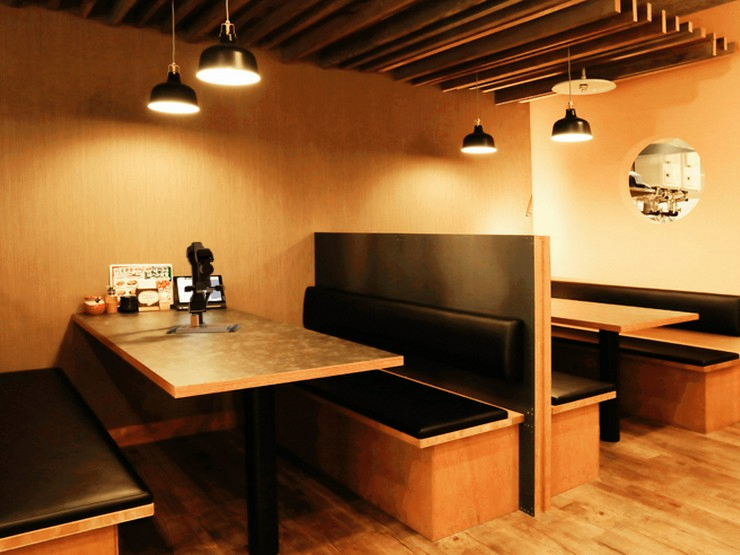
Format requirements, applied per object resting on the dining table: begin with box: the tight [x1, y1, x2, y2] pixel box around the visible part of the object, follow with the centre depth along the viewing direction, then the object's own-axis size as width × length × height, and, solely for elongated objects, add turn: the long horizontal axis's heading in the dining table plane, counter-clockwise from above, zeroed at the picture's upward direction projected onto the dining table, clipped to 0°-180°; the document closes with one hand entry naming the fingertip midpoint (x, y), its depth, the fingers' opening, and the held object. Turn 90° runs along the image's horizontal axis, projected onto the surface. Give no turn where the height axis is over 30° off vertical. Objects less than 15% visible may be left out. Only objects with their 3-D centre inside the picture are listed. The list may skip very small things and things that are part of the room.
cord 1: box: [165, 324, 182, 335], centre depth 308 cm, size 18×3×2 cm, turn 2°
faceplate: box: [175, 322, 234, 334], centre depth 308 cm, size 15×24×2 cm, turn 92°
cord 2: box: [228, 323, 242, 333], centre depth 309 cm, size 18×3×2 cm, turn 2°
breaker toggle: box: [189, 313, 199, 326], centre depth 308 cm, size 4×3×6 cm
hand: (205, 306), depth 307 cm, fingers closed
